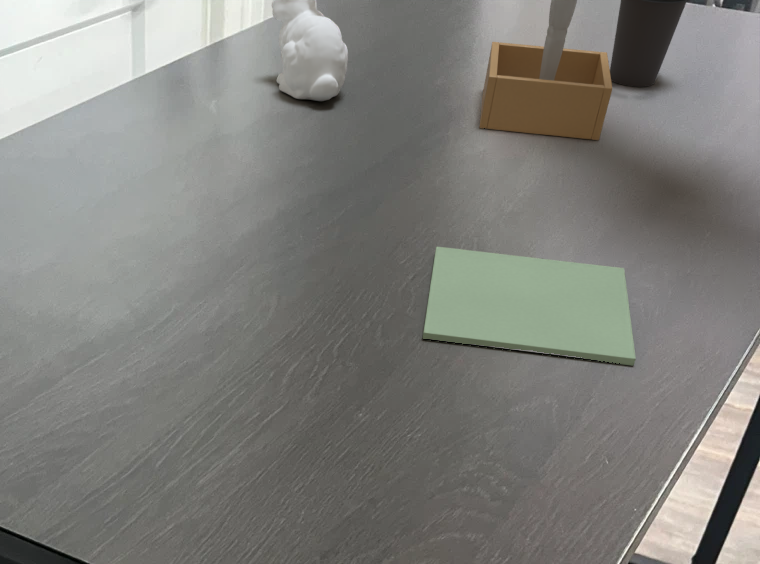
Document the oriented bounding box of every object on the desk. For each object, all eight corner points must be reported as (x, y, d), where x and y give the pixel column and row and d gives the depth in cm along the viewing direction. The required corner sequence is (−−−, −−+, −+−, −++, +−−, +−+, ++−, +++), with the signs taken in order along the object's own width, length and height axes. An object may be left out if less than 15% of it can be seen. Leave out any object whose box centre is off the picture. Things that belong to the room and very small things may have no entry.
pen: (554, 118, 121) (589, -33, 111) (531, 119, 120) (565, -33, 110) (545, 110, 122) (579, -40, 112) (522, 111, 122) (554, -39, 112)
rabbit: (260, 76, 127) (267, -48, 118) (335, 71, 129) (347, -51, 121) (296, 112, 119) (306, -18, 111) (376, 106, 121) (392, -22, 113)
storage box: (594, 101, 125) (607, 52, 121) (598, 140, 116) (612, 88, 113) (483, 90, 126) (492, 41, 123) (479, 128, 118) (489, 76, 114)
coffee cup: (676, 78, 132) (706, -20, 124) (652, 95, 127) (681, -6, 120) (612, 64, 135) (637, -33, 128) (586, 80, 130) (610, -20, 123)
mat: (622, 274, 94) (624, 267, 94) (633, 366, 83) (635, 358, 83) (435, 253, 96) (436, 246, 95) (422, 339, 85) (423, 332, 84)
